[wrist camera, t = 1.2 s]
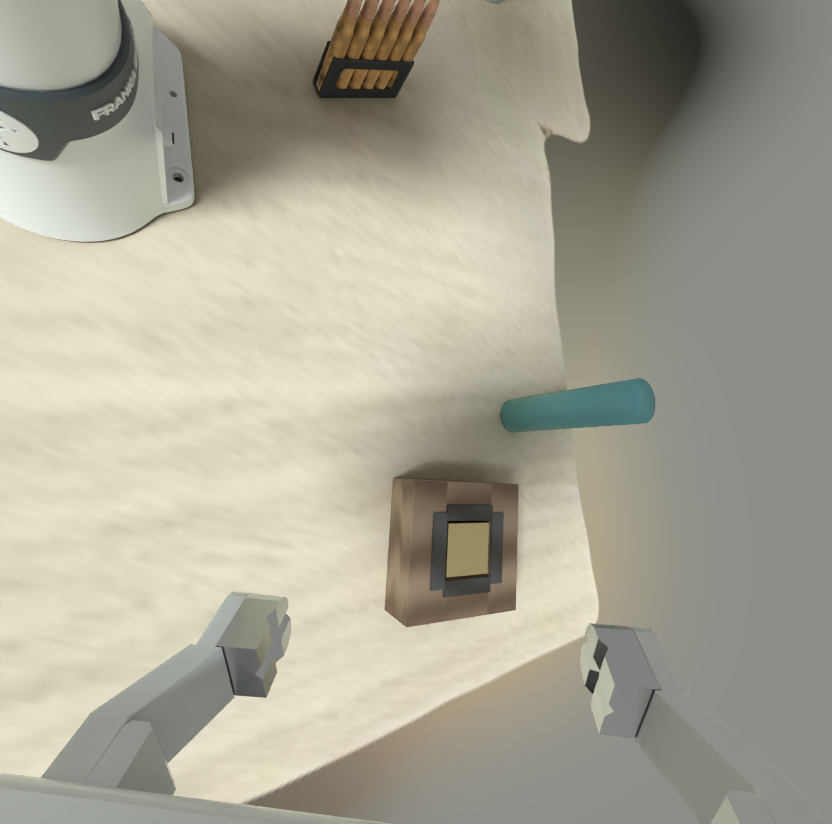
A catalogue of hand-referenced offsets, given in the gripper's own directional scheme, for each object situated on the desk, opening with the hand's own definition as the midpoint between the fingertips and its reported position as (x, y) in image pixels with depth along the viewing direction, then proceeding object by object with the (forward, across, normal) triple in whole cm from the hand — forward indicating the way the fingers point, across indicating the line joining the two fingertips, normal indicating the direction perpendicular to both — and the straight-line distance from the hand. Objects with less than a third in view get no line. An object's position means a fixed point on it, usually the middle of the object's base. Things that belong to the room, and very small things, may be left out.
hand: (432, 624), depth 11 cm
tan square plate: (+27, -2, +21) cm, 35 cm away
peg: (+43, -9, +12) cm, 46 cm away
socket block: (+30, 0, +23) cm, 38 cm away
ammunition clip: (+50, +13, -25) cm, 58 cm away
